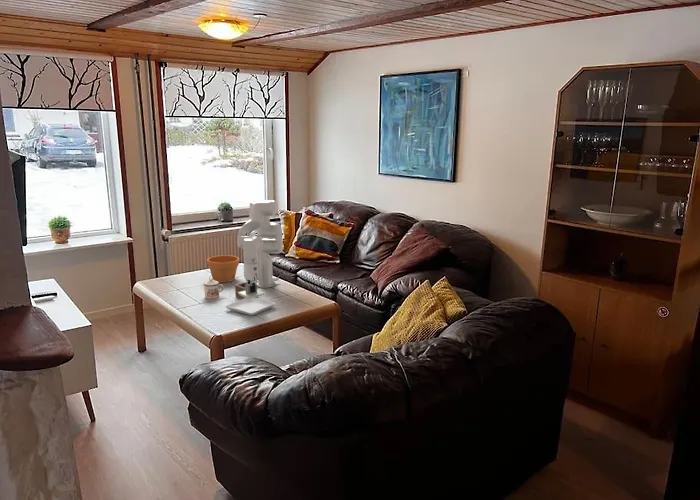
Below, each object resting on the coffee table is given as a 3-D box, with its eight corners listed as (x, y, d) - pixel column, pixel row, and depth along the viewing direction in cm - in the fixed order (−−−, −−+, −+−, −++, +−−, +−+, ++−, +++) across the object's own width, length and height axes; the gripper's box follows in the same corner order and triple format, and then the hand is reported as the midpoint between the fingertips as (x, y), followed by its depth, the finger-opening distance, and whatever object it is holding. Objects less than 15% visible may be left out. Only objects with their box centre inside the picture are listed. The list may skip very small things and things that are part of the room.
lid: (254, 290, 318) (254, 280, 316) (264, 295, 310) (264, 284, 308) (238, 294, 311) (237, 283, 309) (247, 298, 303) (247, 288, 301)
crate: (249, 293, 343) (249, 281, 341) (257, 297, 336) (257, 285, 334) (235, 296, 337) (235, 284, 335) (243, 300, 329) (243, 288, 328)
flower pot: (229, 273, 386) (228, 253, 383) (245, 280, 371) (244, 259, 368) (202, 279, 373) (201, 258, 369) (218, 286, 358) (216, 264, 354)
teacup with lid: (206, 300, 330) (205, 281, 327) (203, 295, 338) (202, 277, 335) (225, 297, 335) (225, 279, 333) (222, 293, 343) (221, 275, 341)
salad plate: (252, 318, 301) (252, 312, 301) (224, 311, 312) (224, 305, 312) (276, 308, 319) (276, 302, 318) (250, 301, 330) (249, 295, 329)
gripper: (263, 262, 302) (264, 293, 306) (249, 256, 314) (250, 287, 318) (252, 264, 297) (253, 296, 301) (237, 258, 309) (238, 289, 313)
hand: (251, 291), depth 310 cm, fingers closed on lid, 2 cm apart
